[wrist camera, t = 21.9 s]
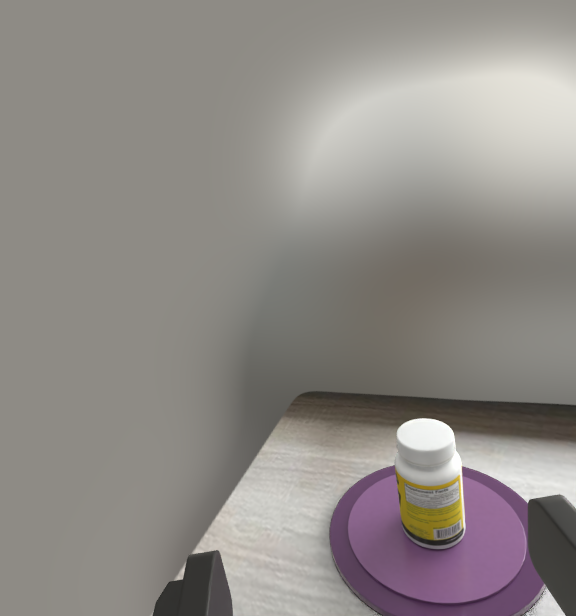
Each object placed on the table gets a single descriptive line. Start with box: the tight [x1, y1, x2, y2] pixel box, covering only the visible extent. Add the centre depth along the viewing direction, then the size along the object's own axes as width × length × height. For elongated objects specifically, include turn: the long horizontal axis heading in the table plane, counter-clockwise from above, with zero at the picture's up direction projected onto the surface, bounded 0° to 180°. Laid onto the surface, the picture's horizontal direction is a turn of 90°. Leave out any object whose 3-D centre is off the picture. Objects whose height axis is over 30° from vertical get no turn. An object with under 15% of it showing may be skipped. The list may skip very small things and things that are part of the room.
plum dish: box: [330, 465, 546, 616], centre depth 35 cm, size 16×16×1 cm
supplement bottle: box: [395, 419, 466, 549], centre depth 34 cm, size 5×5×8 cm
